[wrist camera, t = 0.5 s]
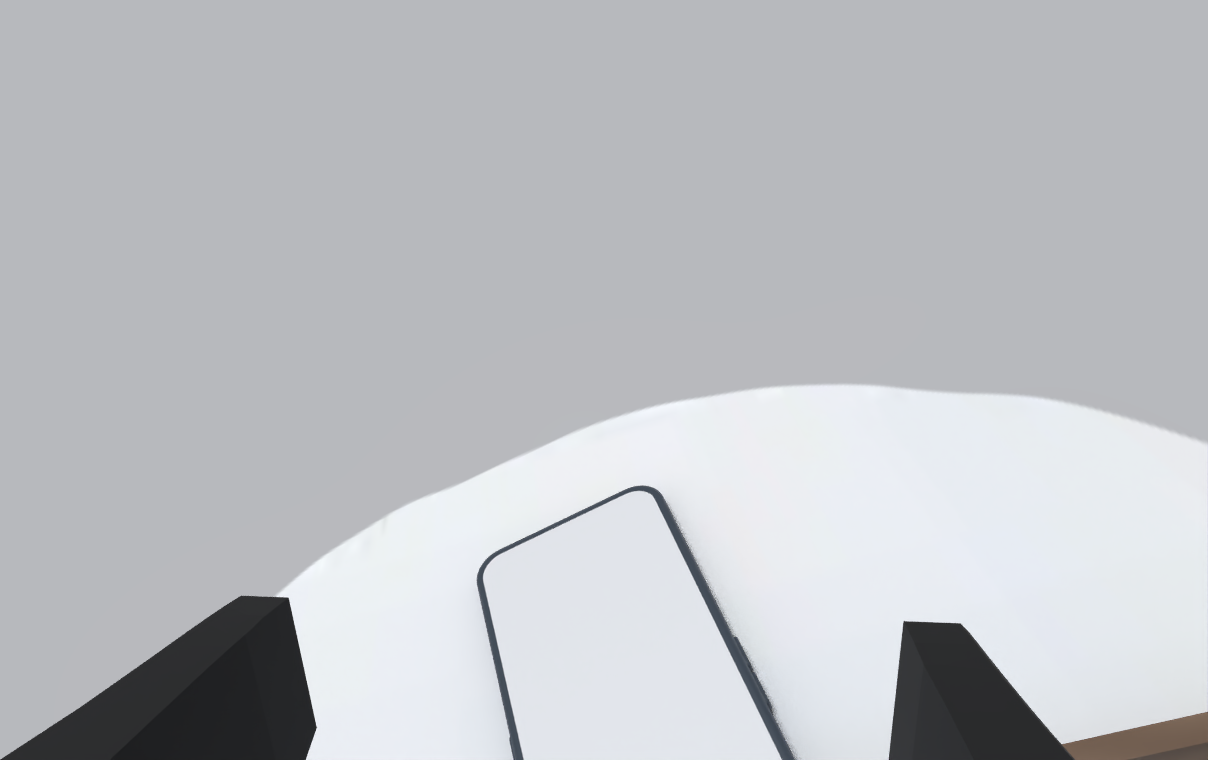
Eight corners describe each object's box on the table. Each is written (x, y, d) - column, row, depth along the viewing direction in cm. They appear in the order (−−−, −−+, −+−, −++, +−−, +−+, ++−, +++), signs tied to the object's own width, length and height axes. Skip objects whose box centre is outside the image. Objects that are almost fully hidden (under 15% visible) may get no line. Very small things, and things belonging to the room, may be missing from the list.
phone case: (483, 584, 42) (566, 952, 29) (467, 561, 41) (546, 930, 28) (665, 497, 42) (830, 824, 29) (653, 472, 41) (819, 798, 28)
